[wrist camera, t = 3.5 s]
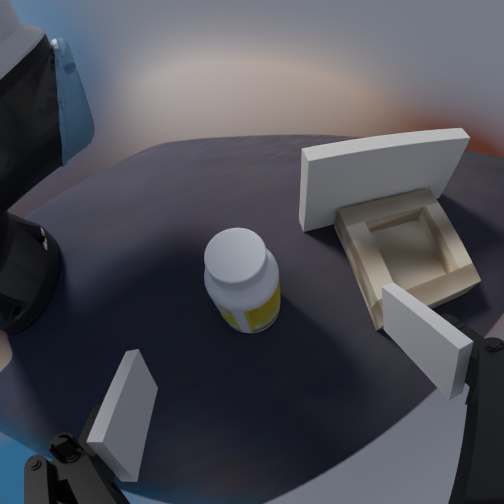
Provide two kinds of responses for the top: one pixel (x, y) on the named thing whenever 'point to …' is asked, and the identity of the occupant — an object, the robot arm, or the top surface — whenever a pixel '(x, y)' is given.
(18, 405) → the top surface
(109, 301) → the top surface
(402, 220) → the birch socket block
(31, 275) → the robot arm
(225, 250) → the supplement bottle
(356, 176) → the white backstop wall
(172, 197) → the top surface
